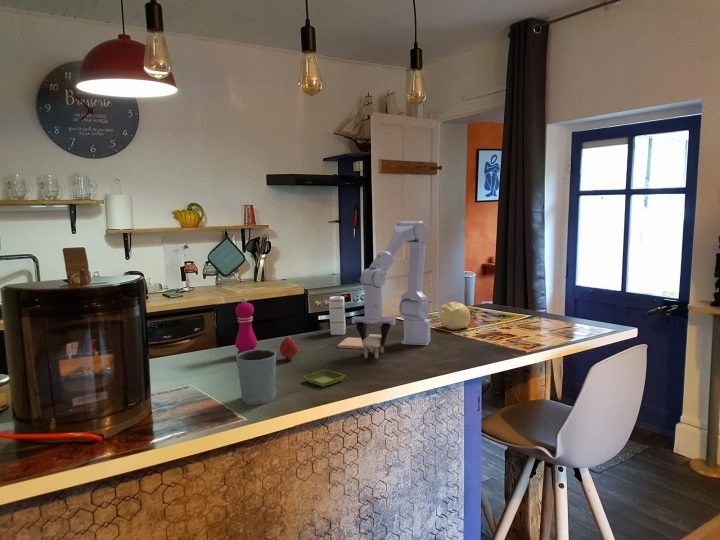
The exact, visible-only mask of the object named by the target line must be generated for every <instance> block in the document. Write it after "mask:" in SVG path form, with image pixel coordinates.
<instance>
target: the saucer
mask: <svg viewBox="0 0 720 540" xmlns="http://www.w3.org/2000/svg"><path fill="white" fill-rule="evenodd" d="M345 377H346V375H345V374H342V373H340V372H336V371H333V370H329V369H327V368H326V369H321V370H318V371H315V372H312V373H310V374H306V375H304V376H303V378H304V380H306V382H308V383H309V382H310V383H309V384H312V383H313V384H312V385H315V384H316V385H315V386H318V385H319V386H318V387H321V386H322V388H326V387H328V385H329V386H331V385H333V384H337V383H339V381H340V382H341V381H342V380H343V379H344V378H345ZM325 386H326V387H325Z"/></svg>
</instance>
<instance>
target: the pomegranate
mask: <svg viewBox="0 0 720 540" xmlns="http://www.w3.org/2000/svg"><path fill="white" fill-rule="evenodd" d="M298 349H299V348H298V344H297V343H296V341H295V340H294V339H292V338H291V336H290V335H288V336H286V338H285V339H283V341H281V343H280V346H279V353H280V354H281V356H283V357H284V358H285V359H287V360H289V361H290V359H291V360H292V359H293V358H294V356H296V354H297V353H298Z"/></svg>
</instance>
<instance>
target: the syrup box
mask: <svg viewBox="0 0 720 540" xmlns="http://www.w3.org/2000/svg"><path fill="white" fill-rule="evenodd" d="M328 303H329V304H328V305H329V307H328V308H329V326H330V327H329V328H330V335H331V336H342V335H343V336H344V335H345V334H346V330H347V329H346V328H347V326H346V310H345V309H346V308H345V304H346V303H345V296H344V295H336V296H335V295H334V296H330V297H329V299H328Z"/></svg>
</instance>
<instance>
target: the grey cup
mask: <svg viewBox="0 0 720 540" xmlns="http://www.w3.org/2000/svg"><path fill="white" fill-rule="evenodd" d="M235 359H236V362H237V363H236V364H237V368H238V378H239V383H240V384H239V386H240V392H241V400H242V402H243V403H244V404H246V405H251V406H259V404H260V405H265V403H266V404H269V403H271V402H273V401H274V400H275V399H276V383H277V382H276V380H277V379H276V377H277V376H276V375H277V374H276V372H277V371H276V370H277V369H276V368H277V352H276V351H274V350H271V349H263V348H262V349H259V348H258V349H257V348H255V350H249V351H245V352H242V353H240V354H238V355H237V354H236V357H235ZM274 398H275V399H274ZM272 400H273V401H272ZM268 402H269V403H268Z"/></svg>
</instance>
